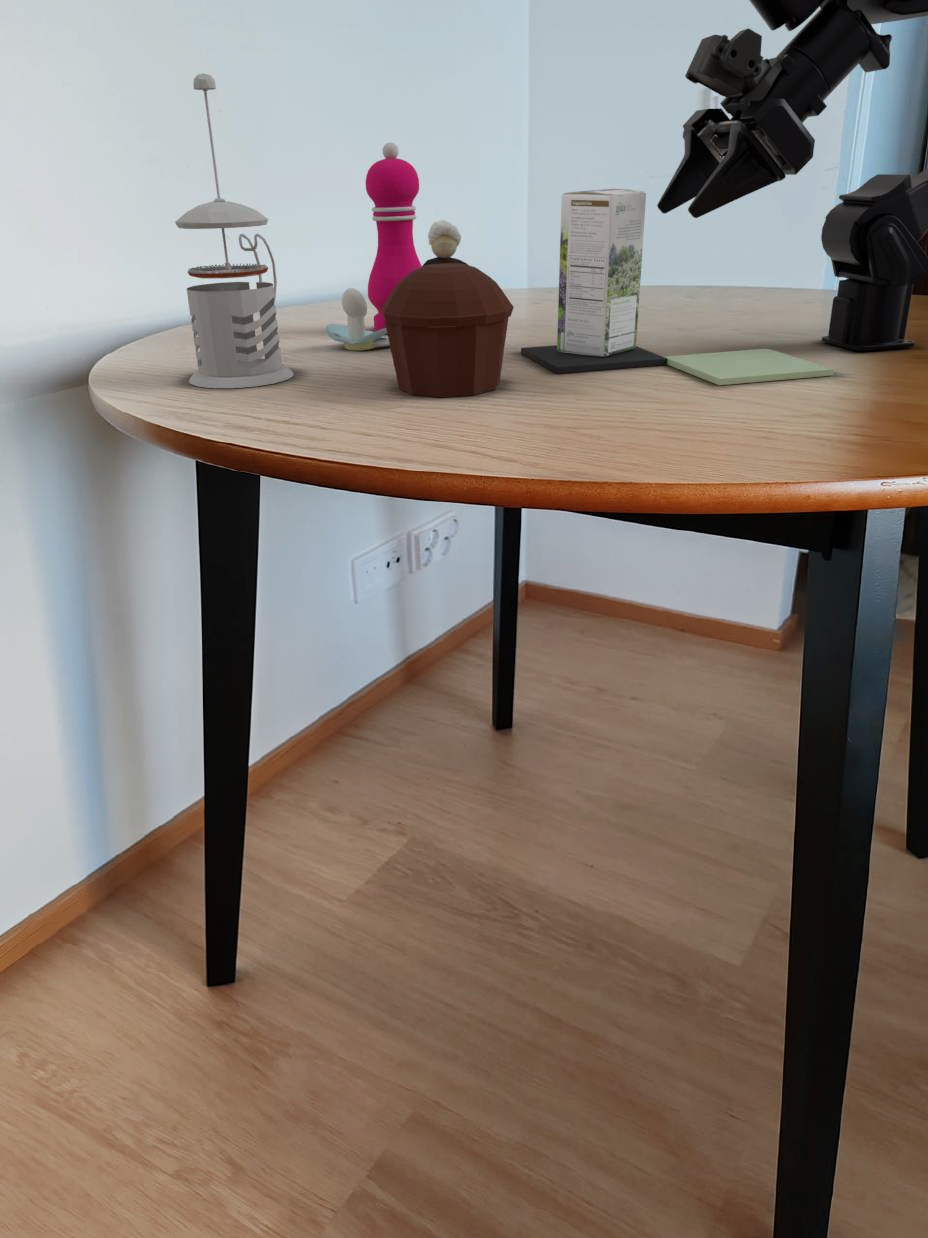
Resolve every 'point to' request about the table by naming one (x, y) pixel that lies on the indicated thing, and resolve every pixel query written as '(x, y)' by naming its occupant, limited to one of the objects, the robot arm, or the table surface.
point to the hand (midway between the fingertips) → (675, 211)
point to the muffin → (447, 330)
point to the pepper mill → (391, 225)
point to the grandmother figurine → (443, 242)
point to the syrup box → (600, 271)
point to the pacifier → (356, 325)
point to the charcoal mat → (590, 359)
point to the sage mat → (747, 366)
